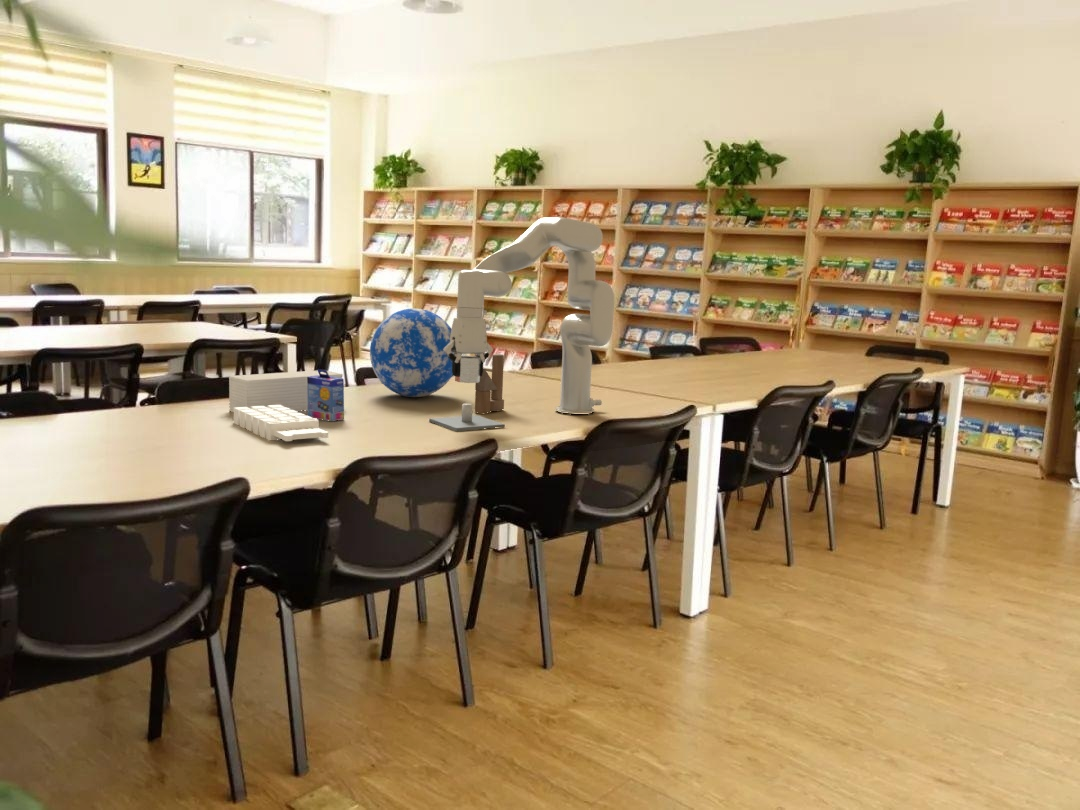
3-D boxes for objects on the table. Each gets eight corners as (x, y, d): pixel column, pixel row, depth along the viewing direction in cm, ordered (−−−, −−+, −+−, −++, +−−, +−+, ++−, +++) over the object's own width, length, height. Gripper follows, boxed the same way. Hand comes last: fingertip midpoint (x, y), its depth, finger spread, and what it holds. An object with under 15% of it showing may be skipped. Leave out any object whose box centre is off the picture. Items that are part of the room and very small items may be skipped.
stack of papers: (246, 417, 273) (246, 380, 271) (229, 412, 280) (229, 375, 278) (342, 408, 295) (342, 374, 293) (323, 403, 302) (323, 370, 301)
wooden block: (474, 413, 296) (476, 355, 293) (495, 409, 304) (497, 353, 301) (483, 414, 293) (485, 356, 291) (504, 410, 302) (506, 354, 299)
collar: (471, 379, 277) (472, 355, 276) (483, 382, 272) (484, 358, 271) (451, 380, 273) (452, 356, 272) (462, 383, 268) (464, 358, 267)
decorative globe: (359, 391, 329) (360, 304, 325) (440, 389, 342) (443, 306, 337) (382, 405, 303) (384, 311, 298) (469, 402, 315) (472, 312, 310)
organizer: (279, 404, 269) (332, 425, 242) (279, 421, 270) (332, 443, 242) (233, 407, 261) (282, 429, 234) (233, 424, 262) (282, 448, 234)
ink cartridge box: (305, 417, 275) (306, 368, 272) (319, 415, 279) (319, 366, 277) (331, 422, 270) (331, 371, 267) (344, 419, 274) (345, 370, 272)
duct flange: (476, 418, 286) (477, 398, 285) (504, 427, 273) (505, 407, 272) (429, 421, 277) (429, 401, 276) (456, 431, 264) (456, 410, 263)
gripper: (489, 313, 278) (486, 373, 280) (436, 312, 268) (434, 375, 271) (502, 315, 272) (499, 377, 274) (449, 314, 262) (447, 378, 265)
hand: (467, 375), depth 272 cm, fingers closed on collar, 6 cm apart
